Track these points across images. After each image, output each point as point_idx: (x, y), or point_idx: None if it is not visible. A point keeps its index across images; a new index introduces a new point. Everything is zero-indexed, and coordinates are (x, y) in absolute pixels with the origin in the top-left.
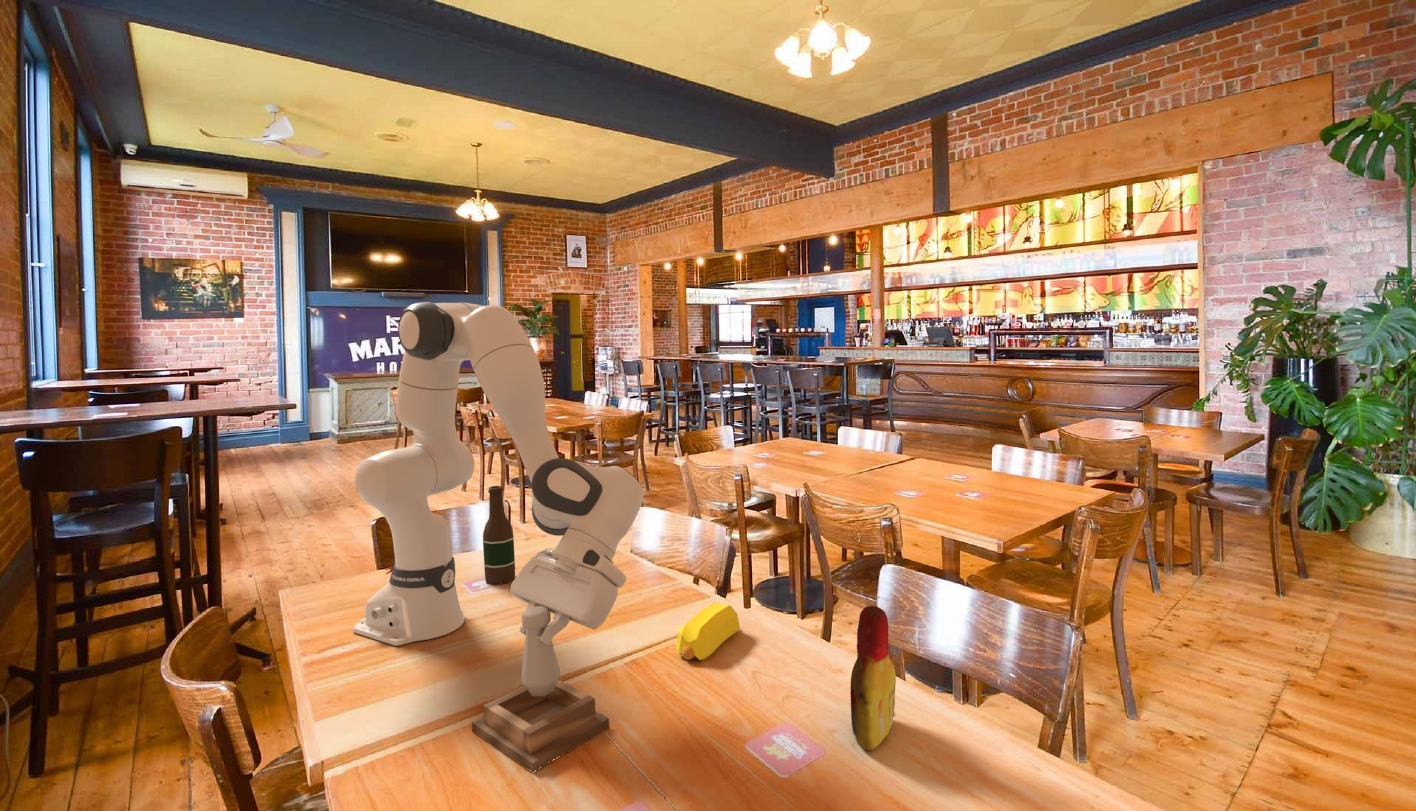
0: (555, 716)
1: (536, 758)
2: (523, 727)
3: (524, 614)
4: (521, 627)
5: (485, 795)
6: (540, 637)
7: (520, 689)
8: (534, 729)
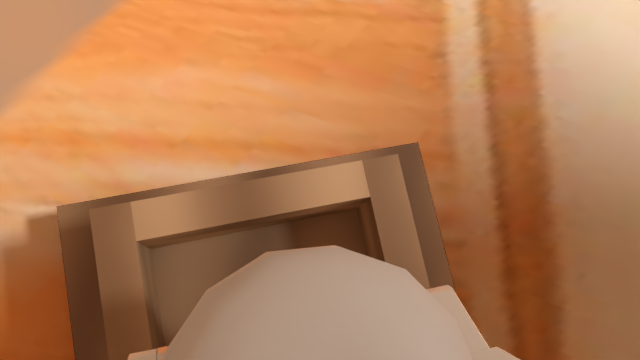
0: (127, 343)
1: (70, 226)
2: (147, 210)
3: (334, 267)
4: (443, 298)
5: (75, 69)
6: (154, 353)
7: None
8: (102, 236)
